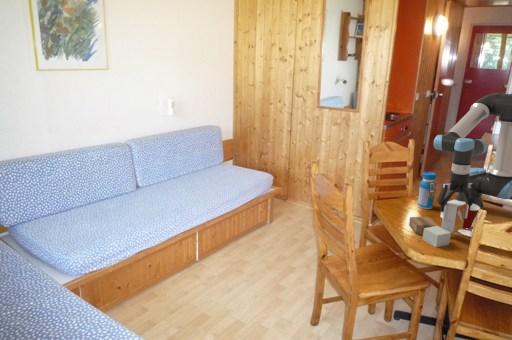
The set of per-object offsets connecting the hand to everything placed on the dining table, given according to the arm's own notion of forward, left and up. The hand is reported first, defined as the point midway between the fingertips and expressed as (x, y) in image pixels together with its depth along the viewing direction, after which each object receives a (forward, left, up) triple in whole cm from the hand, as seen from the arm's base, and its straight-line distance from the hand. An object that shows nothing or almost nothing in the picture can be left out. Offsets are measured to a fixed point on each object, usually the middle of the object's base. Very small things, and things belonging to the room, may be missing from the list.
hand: (453, 217), depth 181 cm
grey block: (+10, +6, -10) cm, 15 cm away
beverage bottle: (-6, -38, -10) cm, 39 cm away
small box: (0, 0, -6) cm, 6 cm away
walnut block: (+10, -7, -10) cm, 16 cm away
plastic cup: (-13, -10, -10) cm, 19 cm away
